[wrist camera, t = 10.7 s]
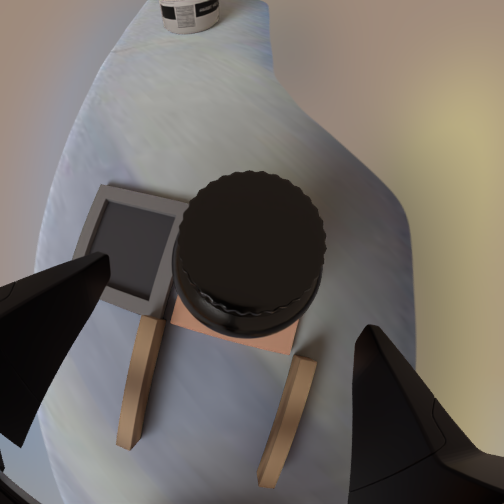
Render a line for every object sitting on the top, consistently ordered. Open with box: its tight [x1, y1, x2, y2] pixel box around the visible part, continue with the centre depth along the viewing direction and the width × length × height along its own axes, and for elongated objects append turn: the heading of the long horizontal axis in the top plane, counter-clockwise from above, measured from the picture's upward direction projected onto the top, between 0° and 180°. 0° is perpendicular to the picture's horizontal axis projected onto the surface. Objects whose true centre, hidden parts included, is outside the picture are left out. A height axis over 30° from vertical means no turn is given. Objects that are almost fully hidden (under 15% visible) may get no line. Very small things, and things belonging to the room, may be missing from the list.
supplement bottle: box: [171, 170, 327, 339], centre depth 14 cm, size 7×7×12 cm
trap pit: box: [72, 184, 189, 319], centre depth 21 cm, size 9×9×1 cm
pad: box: [170, 295, 299, 355], centre depth 21 cm, size 9×9×1 cm
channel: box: [116, 315, 317, 489], centre depth 17 cm, size 11×12×2 cm
